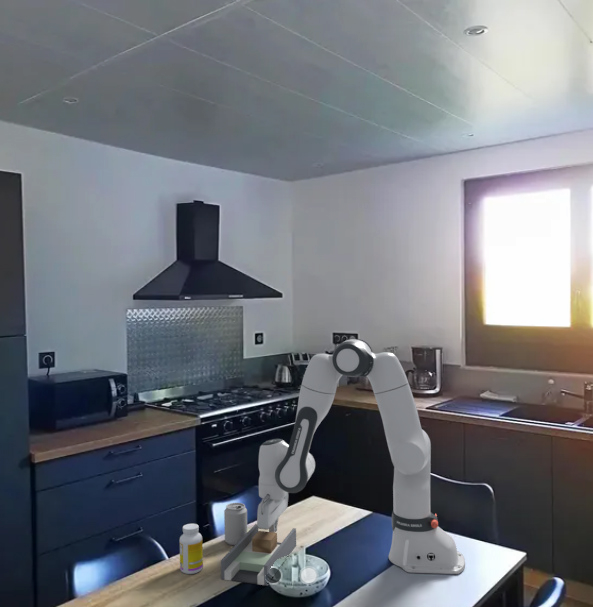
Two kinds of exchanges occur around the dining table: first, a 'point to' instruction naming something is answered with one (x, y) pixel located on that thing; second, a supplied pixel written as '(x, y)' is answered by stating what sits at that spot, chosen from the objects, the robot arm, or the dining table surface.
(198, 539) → the supplement bottle
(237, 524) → the can
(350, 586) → the dining table surface
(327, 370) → the robot arm
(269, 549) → the walnut block
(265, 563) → the box
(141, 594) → the dining table surface
